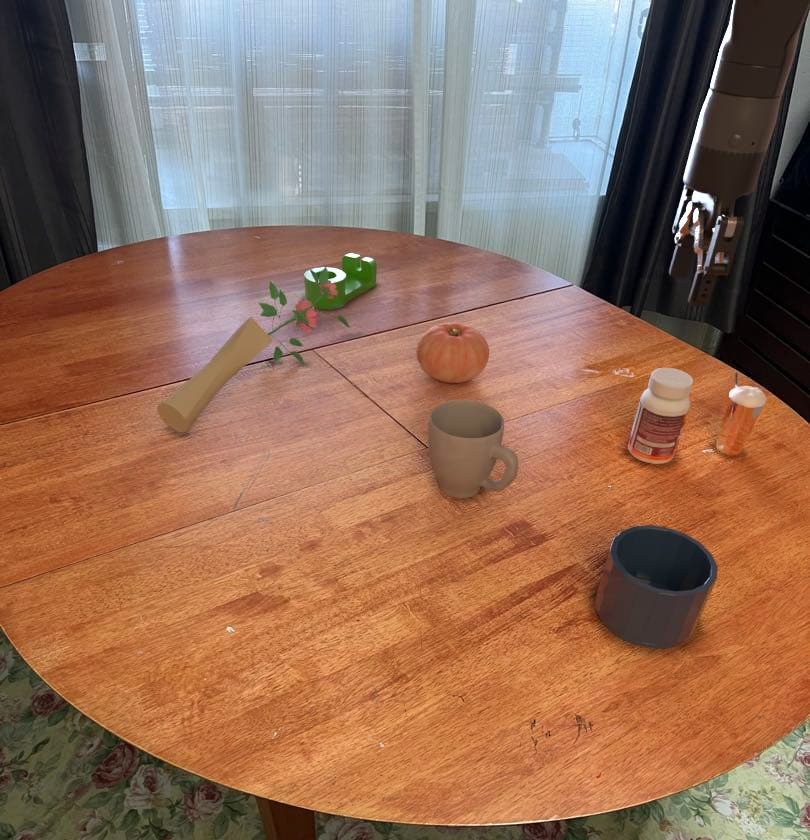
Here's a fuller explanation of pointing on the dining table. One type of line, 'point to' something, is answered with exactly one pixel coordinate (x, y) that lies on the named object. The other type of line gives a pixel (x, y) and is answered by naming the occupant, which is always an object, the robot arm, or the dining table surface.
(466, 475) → the mug
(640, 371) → the dining table surface
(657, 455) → the pill bottle
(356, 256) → the tape dispenser
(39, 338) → the dining table surface
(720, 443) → the milkshake
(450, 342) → the pumpkin
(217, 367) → the flower vase
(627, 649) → the dining table surface
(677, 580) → the pen holder
